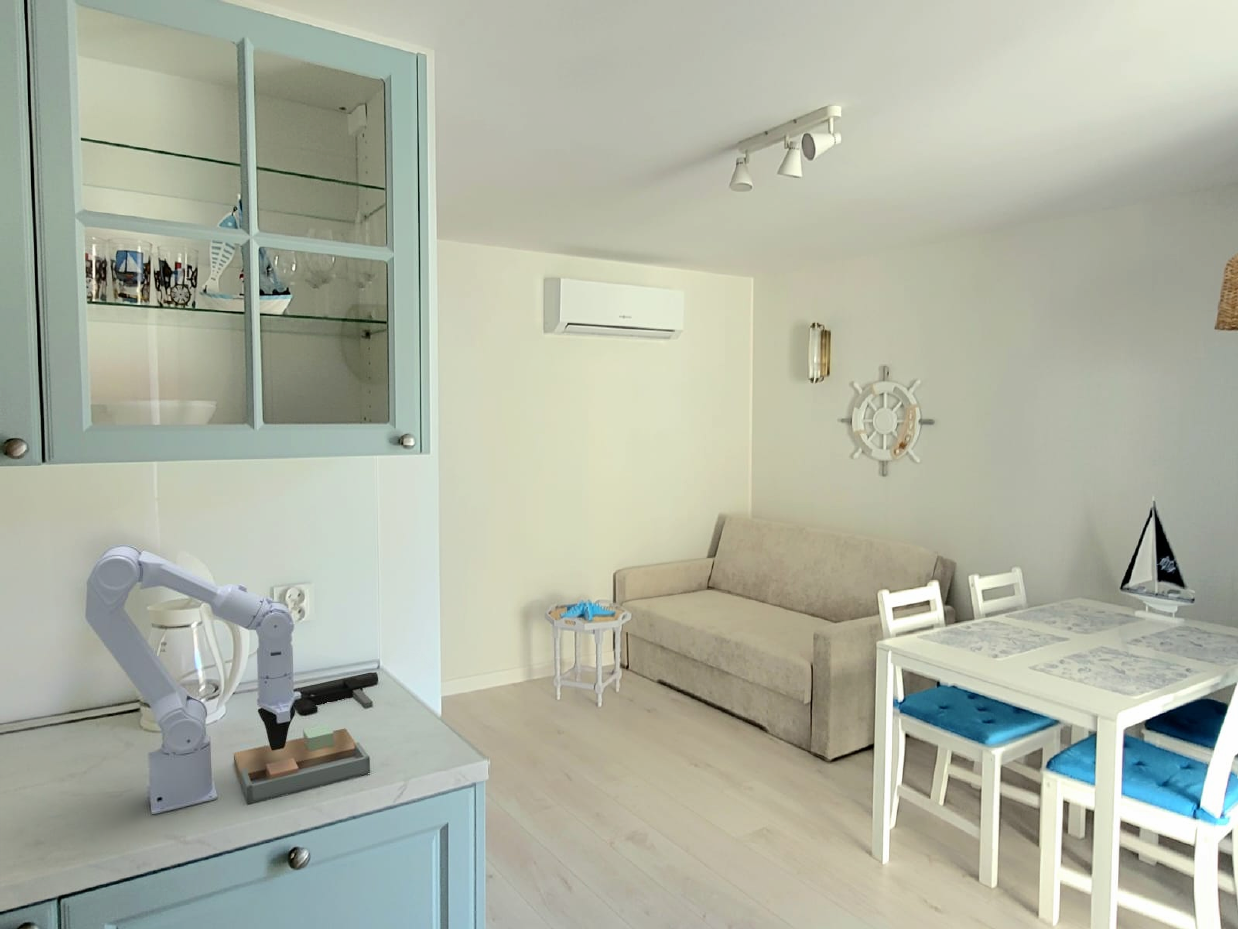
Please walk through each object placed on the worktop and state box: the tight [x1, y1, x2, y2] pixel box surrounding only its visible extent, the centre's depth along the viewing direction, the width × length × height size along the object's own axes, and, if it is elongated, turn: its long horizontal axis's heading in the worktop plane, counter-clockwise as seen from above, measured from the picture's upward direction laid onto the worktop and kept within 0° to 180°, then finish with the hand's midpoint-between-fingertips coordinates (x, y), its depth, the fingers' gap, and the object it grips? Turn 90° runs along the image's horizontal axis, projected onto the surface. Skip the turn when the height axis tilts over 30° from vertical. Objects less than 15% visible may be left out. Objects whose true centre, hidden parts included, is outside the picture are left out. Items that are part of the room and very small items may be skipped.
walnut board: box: [233, 727, 356, 784], centre depth 145 cm, size 20×10×2 cm, turn 123°
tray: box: [240, 742, 371, 805], centre depth 138 cm, size 20×7×3 cm, turn 123°
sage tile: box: [302, 724, 334, 751], centre depth 148 cm, size 4×4×2 cm
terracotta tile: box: [266, 758, 299, 780], centre depth 137 cm, size 4×4×2 cm
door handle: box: [293, 671, 379, 716], centre depth 175 cm, size 3×20×16 cm
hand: (277, 748), depth 138 cm, fingers closed
